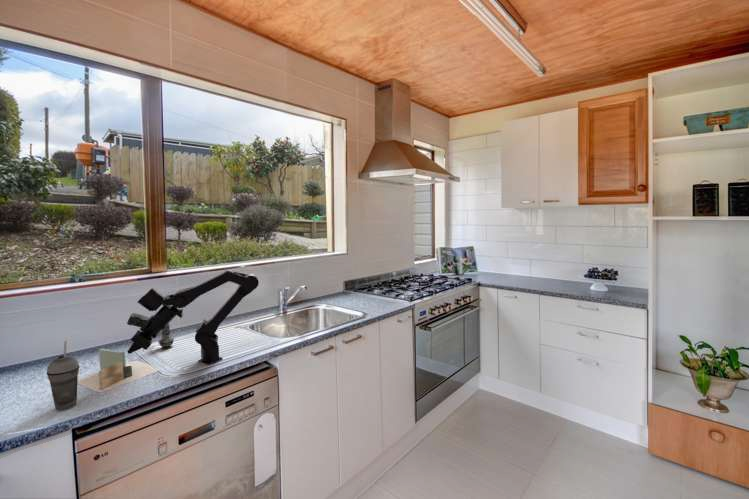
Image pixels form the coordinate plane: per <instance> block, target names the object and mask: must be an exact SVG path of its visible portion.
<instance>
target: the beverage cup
mask: <svg viewBox="0 0 749 499" xmlns="http://www.w3.org/2000/svg"><path fill="white" fill-rule="evenodd" d="M63 343H64V344H63V355H60V356H56V357H54V359H52V360H51V361H50V362H49V364H48V366H47V367H46V368H47V369H46V373H45V374H46V376H47V378H48V381H49V384H50V389H51V394H52V399H53V405H54V407H55V411H57V412H63V411H64V412H65V411H68V410H70V409H73V408H74V407H76V406H77V402H78V383H77V381H78V377H79V376H78V375H79V372H80V371H79V370H80V364H79V362H78V359H76V358H75V357H74V356H72V355H67V346H68V345H67V340H65V341H64V342H63Z"/></svg>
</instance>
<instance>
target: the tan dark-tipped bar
mask: <svg viewBox="0 0 749 499" xmlns="http://www.w3.org/2000/svg"><path fill="white" fill-rule="evenodd" d="M123 371H124V377H131V376H132V366H126V367H124V368H123V363H122V362H119V363H116V364H114V365H111V366H109V367H107V368H104V369H102V370H100V369H99V371H98V373H99V382H100V389H103V388H106V387H108V386H110V385H112V384H114V383H116V382H118V381H120V380H122V379H123Z"/></svg>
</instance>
